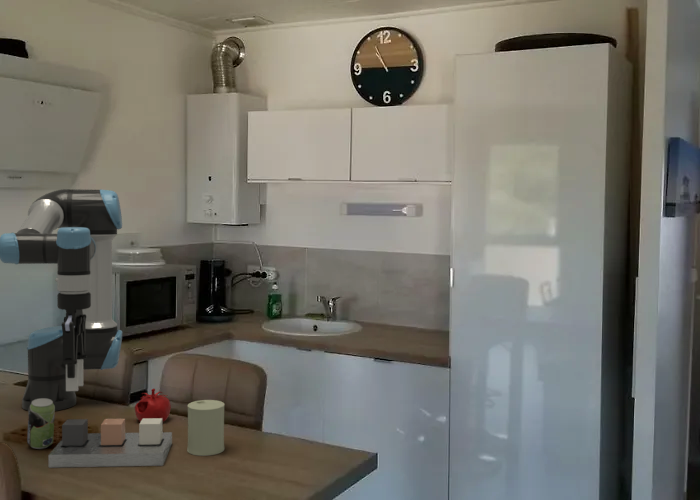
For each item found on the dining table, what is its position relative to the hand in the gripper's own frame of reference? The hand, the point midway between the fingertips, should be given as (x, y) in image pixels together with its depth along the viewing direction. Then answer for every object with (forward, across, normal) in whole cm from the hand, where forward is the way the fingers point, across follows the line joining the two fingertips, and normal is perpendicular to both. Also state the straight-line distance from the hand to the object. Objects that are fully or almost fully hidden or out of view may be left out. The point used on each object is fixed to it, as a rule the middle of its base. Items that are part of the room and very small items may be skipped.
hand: (74, 388), depth 184 cm
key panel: (+17, 0, +9) cm, 19 cm away
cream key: (+13, 0, +18) cm, 22 cm away
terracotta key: (+13, 0, +9) cm, 16 cm away
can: (+17, -3, +31) cm, 35 cm away
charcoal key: (+13, 0, 0) cm, 13 cm away
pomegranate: (+17, -29, +14) cm, 36 cm away
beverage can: (+17, -7, -10) cm, 21 cm away
